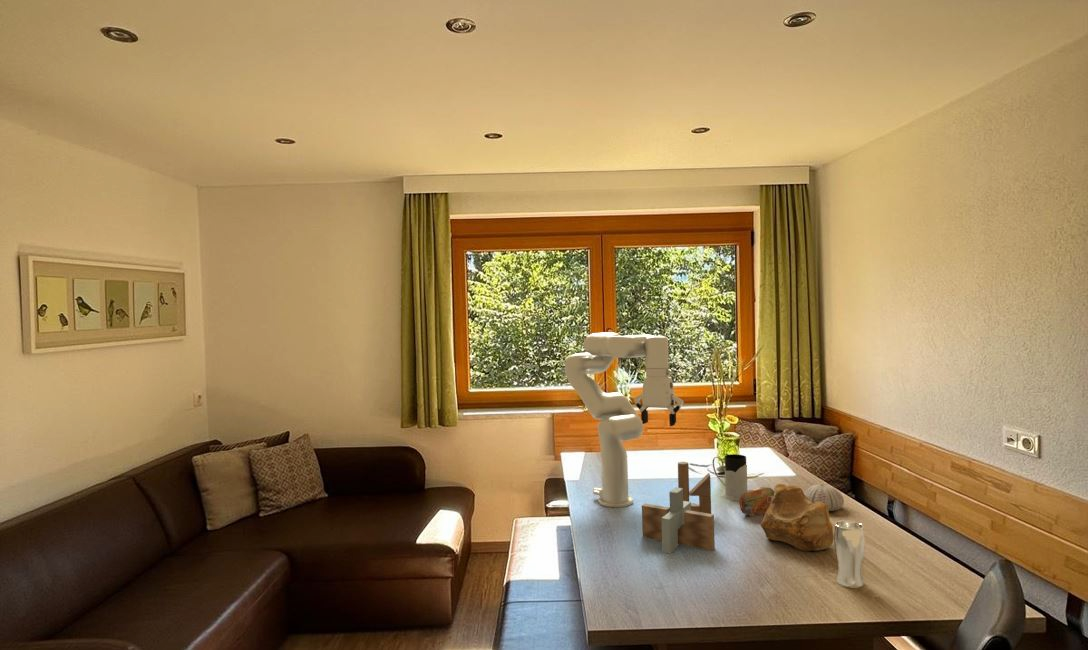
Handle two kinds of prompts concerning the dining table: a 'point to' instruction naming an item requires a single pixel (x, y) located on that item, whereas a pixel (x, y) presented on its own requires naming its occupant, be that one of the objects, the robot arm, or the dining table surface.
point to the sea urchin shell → (825, 496)
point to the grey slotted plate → (673, 520)
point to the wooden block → (695, 489)
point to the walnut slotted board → (691, 534)
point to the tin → (756, 501)
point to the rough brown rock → (797, 520)
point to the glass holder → (734, 476)
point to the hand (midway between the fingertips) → (658, 424)
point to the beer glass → (849, 552)
